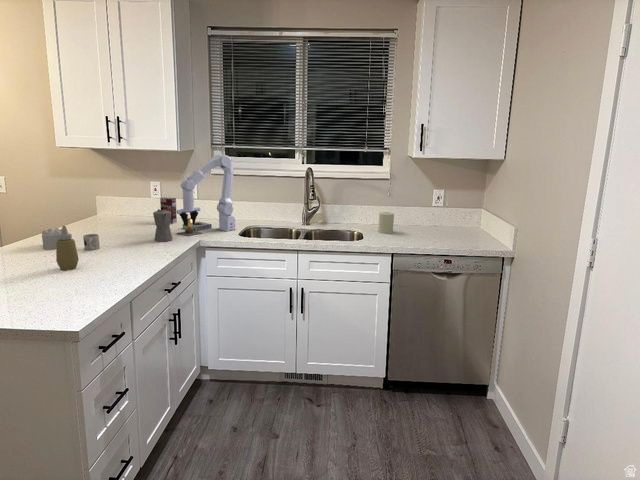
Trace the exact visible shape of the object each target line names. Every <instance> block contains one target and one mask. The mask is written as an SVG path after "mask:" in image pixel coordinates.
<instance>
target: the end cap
mask: <svg viewBox="0 0 640 480" xmlns="http://www.w3.org/2000/svg"><path fill="white" fill-rule="evenodd" d="M184 231H185V233H188V234H190V233H193V219H192V218H191V217H188V218H187V226H185V229H184Z"/></svg>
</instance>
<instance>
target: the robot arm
mask: <svg viewBox="0 0 640 480" xmlns="http://www.w3.org/2000/svg"><path fill="white" fill-rule="evenodd" d="M232 161H233V160H232V159H231V157H230V156H229V155H226V154H216V155H214V156H213V157H211V159H210V160H209V161H208V162H207V163H206V164H205V165H204V166H203V167H201V168H200V169H199V170H194V171H193V172H192V174H191V175H189V176H186V179H183V180H182V181H181V183H180V187H181V190H182V206H183V208H181V209H176V215H179V216H180V219H181V220H182V223H183V224H184V226H187V218H189V216H190V218H192V219H193V225H195V222H196V220H197V216H198V215H199V212H201V207H195V206H194V205H195V203H194V202H195V201H194V190H195V188H196V185H198V183H200V182H201V181H202V180H203V179H204V178H205V175H206V174H207V173H208V172H210V171H211V170H213V169H214V168H217V167H218V168H219V167H220V169H221V170H223V180H222V190H221V197H220V199H219V201H218V204H217V206H216V210H217V212H218V223H219V224H218V225H219V226H218V227H216V228H215V229H216V230H220V231H225V232H229V231H234V230H237V228H236V218H235V216H233V215H232V214H233V213H234V208H233V207H234V206H233V201H232V199H231V198H232V189H233V188H232V187H233V181H234V171H235V168H234V165H233V163H232ZM188 213H189V214H188Z"/></svg>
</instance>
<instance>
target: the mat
mask: <svg viewBox="0 0 640 480" xmlns="http://www.w3.org/2000/svg"><path fill="white" fill-rule="evenodd" d="M176 234H177V235H182V236H184V237H185V236H186V237H191V236H195V235H200V234H201V235H202V234H203V232H201V231H193V233H190V234H188V233H185V230H184V231H179V232H176Z"/></svg>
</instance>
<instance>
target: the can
mask: <svg viewBox="0 0 640 480" xmlns="http://www.w3.org/2000/svg"><path fill="white" fill-rule="evenodd" d="M394 220H395V213H394V212H390V211H389V212H388V211H382V212H378V227H377V228H378V230H377V232H378V233H379V234H387V235H388V234H393V233H394V222H395V221H394Z"/></svg>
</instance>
